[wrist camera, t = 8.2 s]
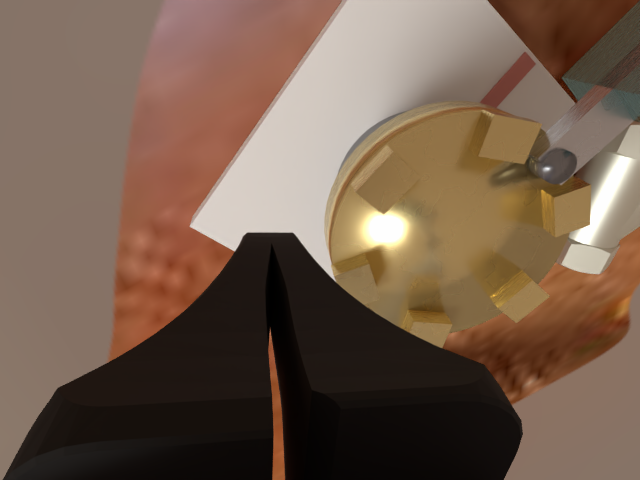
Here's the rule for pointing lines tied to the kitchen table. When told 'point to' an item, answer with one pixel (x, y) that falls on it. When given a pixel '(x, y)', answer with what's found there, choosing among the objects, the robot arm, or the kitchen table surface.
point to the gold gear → (475, 198)
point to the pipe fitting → (607, 204)
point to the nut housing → (368, 107)
